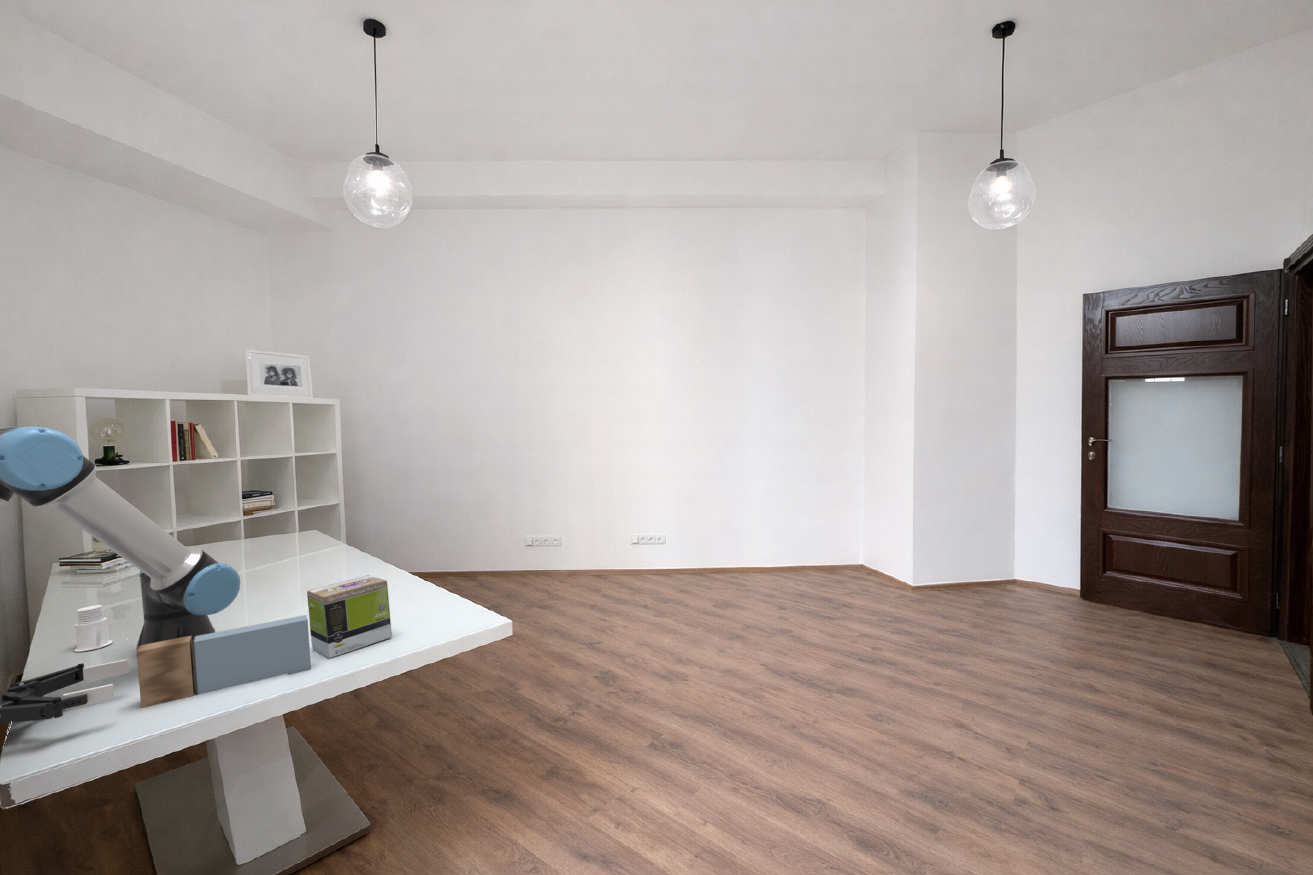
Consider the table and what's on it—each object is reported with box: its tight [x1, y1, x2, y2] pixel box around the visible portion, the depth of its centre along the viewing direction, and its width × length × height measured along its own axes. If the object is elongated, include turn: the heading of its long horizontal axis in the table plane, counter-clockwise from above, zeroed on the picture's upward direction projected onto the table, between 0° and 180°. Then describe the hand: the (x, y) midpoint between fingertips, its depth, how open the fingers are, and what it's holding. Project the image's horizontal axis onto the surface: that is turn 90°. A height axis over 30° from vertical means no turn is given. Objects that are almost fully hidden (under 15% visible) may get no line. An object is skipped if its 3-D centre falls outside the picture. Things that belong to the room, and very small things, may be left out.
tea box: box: [306, 574, 393, 659], centre depth 143 cm, size 15×10×15 cm, turn 141°
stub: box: [136, 636, 196, 709], centre depth 118 cm, size 8×4×11 cm, turn 124°
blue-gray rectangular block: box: [192, 614, 312, 696], centre depth 126 cm, size 20×4×11 cm, turn 124°
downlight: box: [73, 604, 114, 653], centre depth 148 cm, size 8×7×10 cm
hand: (121, 678), depth 114 cm, fingers open, 13 cm apart
